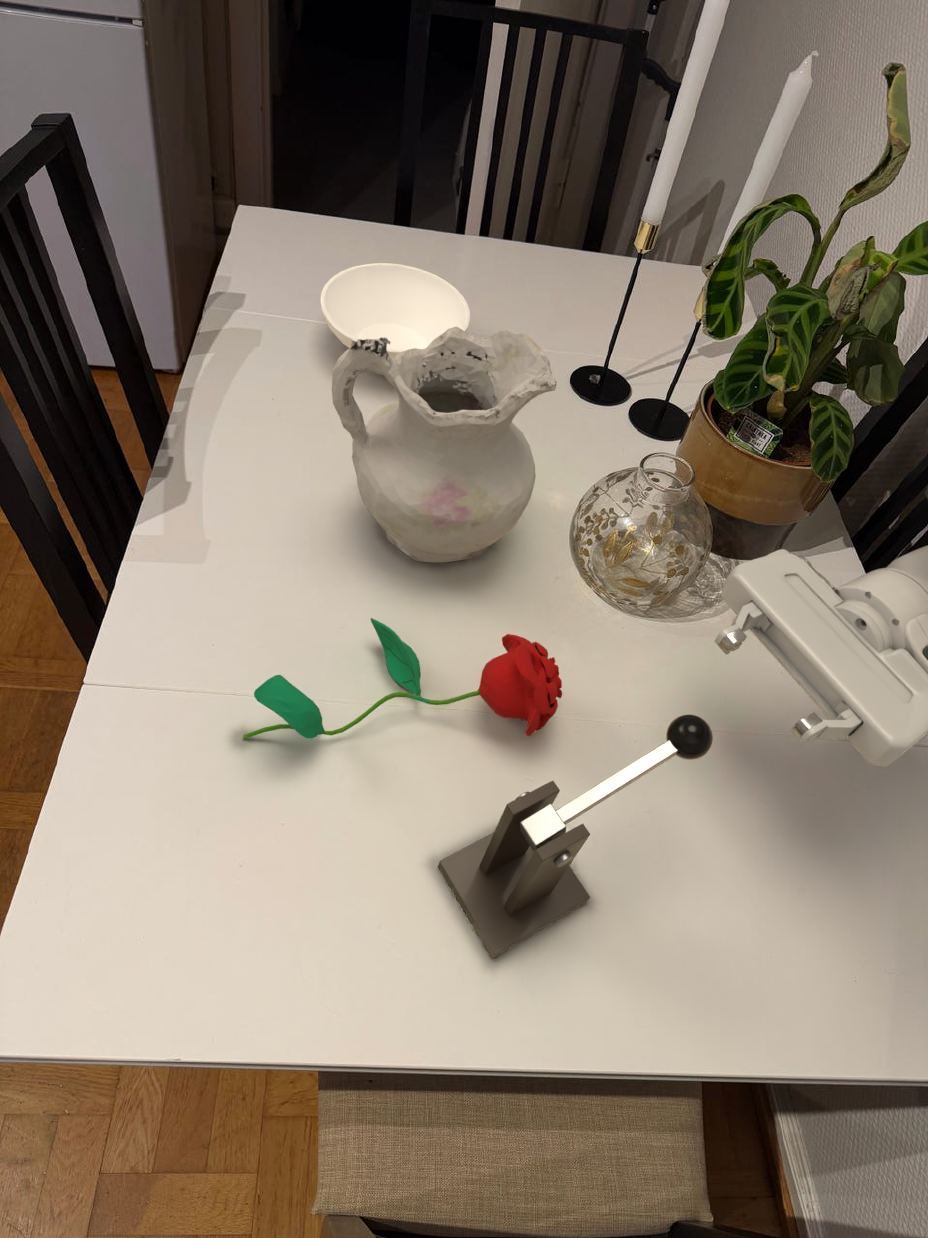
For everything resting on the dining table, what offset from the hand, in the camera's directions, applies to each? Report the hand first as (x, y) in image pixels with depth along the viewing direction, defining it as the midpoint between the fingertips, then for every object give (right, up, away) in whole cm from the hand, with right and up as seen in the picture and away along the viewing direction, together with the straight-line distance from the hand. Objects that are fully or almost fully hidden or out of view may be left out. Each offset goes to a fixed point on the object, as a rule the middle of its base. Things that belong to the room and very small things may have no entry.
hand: (759, 687), depth 70 cm
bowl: (-34, +42, +48) cm, 72 cm away
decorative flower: (-31, -2, +15) cm, 34 cm away
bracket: (-20, -18, +6) cm, 27 cm away
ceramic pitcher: (-28, +16, +30) cm, 44 cm away
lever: (-12, -8, 0) cm, 14 cm away
